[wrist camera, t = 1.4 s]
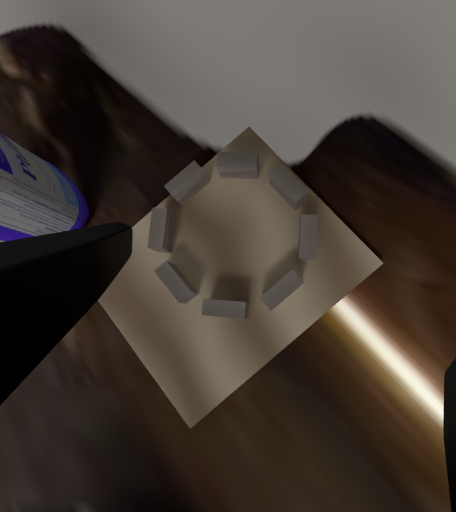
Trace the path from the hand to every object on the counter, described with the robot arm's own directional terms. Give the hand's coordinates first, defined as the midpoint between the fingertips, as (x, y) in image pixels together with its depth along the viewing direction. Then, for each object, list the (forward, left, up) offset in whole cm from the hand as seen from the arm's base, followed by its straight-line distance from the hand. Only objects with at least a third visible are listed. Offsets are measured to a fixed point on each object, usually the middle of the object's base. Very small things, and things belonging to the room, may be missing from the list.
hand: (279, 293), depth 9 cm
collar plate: (-1, +4, -14) cm, 15 cm away
